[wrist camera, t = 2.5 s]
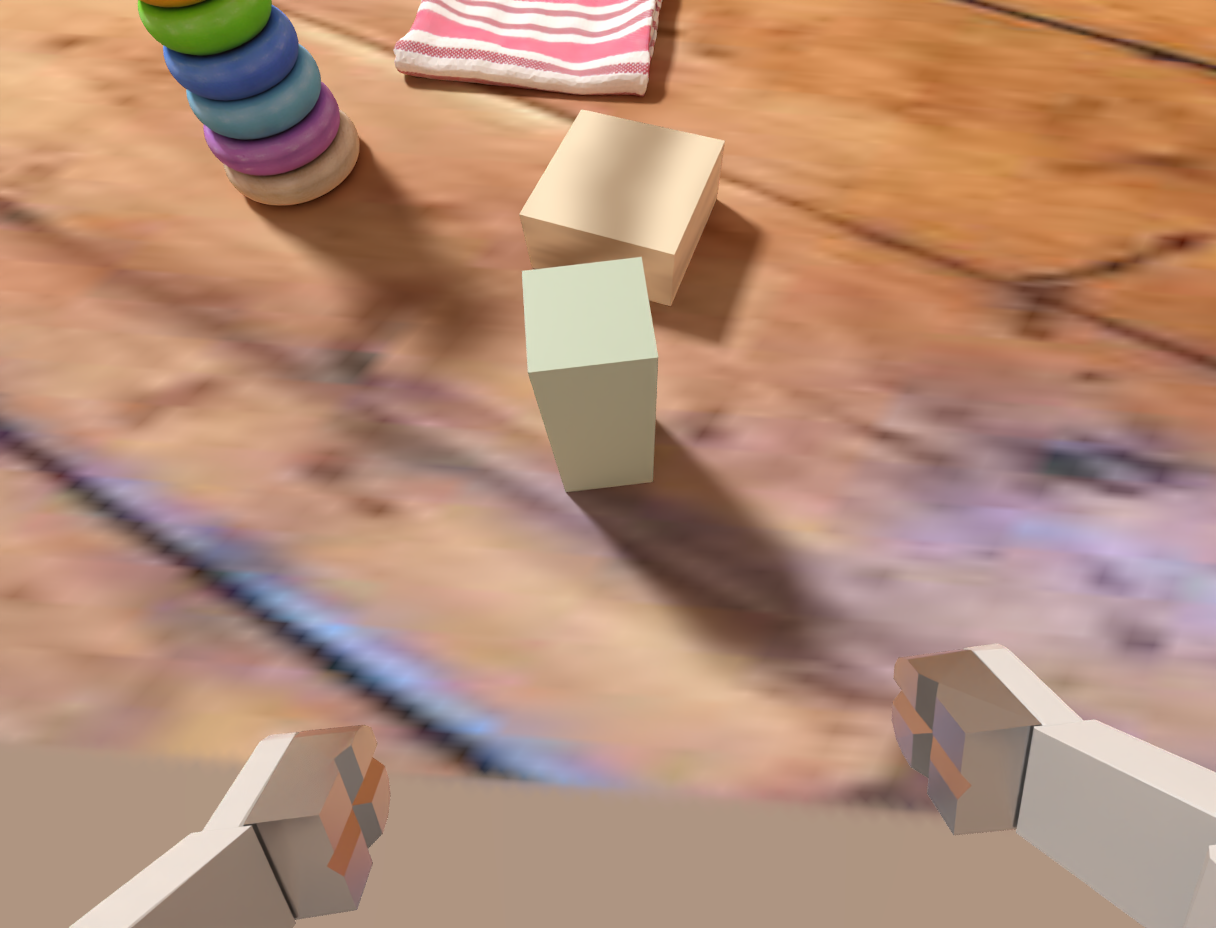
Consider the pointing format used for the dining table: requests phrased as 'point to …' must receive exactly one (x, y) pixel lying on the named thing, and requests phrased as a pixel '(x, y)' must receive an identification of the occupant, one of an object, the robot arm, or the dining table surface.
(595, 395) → the pillar
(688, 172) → the base block
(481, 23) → the dish towel
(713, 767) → the dining table surface
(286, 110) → the stacking toy
